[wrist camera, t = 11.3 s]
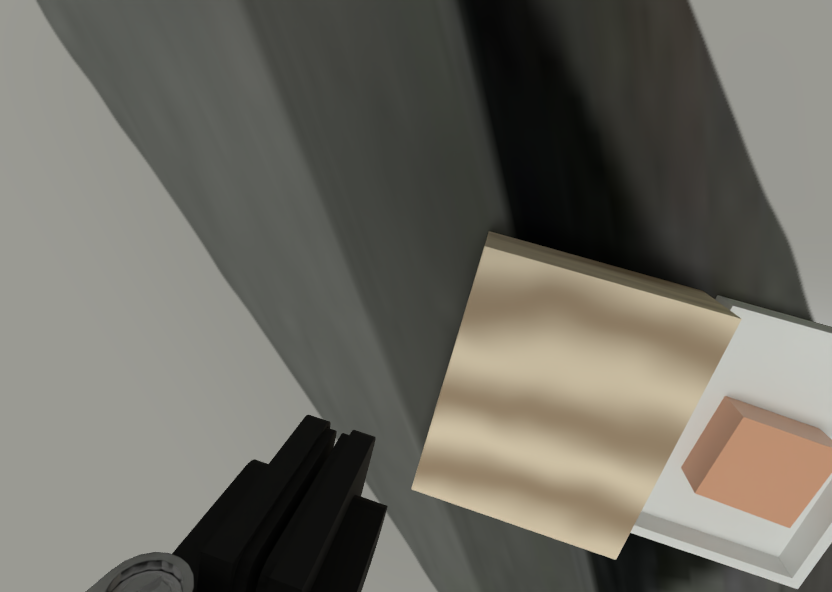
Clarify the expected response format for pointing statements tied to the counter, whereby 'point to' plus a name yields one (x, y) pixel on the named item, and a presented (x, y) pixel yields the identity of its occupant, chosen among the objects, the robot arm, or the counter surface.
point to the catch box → (771, 390)
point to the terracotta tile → (759, 462)
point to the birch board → (568, 392)
